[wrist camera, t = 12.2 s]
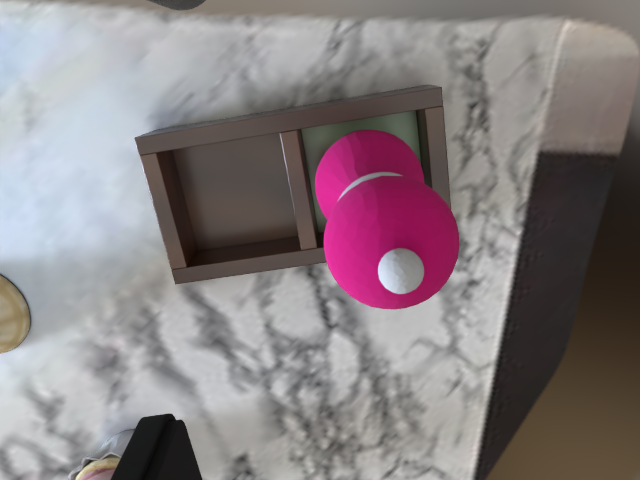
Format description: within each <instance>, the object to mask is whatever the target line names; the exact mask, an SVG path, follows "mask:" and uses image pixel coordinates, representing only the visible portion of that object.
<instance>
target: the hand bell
mask: <svg viewBox="0 0 640 480" xmlns="http://www.w3.org/2000/svg"><path fill="white" fill-rule="evenodd" d="M29 327H30V315H29V310H28V306H27V304H26V302H25V300H24V298H23V296H22V295H21V293H20V292H19V291H18V289H17V288H16V287H15V286H14V285H13V284H11V283H10V282H9V281H8V280H7V279H5V278H4V277H2V276H1V275H0V354H1V353H5V352H8V351H11V350H13V349H14V348H16V347H17V346H19V345H20V344H21V343H22V341H23V340H24V339H25V337H26V335H27V334H28V331H29Z"/></svg>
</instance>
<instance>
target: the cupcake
mask: <svg viewBox="0 0 640 480" xmlns="http://www.w3.org/2000/svg"><path fill="white" fill-rule="evenodd" d="M134 431H135V430H127V431H123V432H121V433H118V434H116V435H115V436H113V437H112V438H110V439H109V440H108V441H107V442H106V443H105V444H104V445H103V446H102V447H101V448H100V449H99V450H98V451H97V452H95V453H93V454H91V455H88V456H86V457H84V458H83V459H82V462H81V466H80V467H78V468H77V469H75V470H74V471H72V472H71V473H70V474H68V480H110V479H111V477H112V475H113V473H114V471H115V469H116V467H117V465H118V463H119V461H120V459H121V457H122V455H123V453H124V451H125V449H126V447H127V445H128V443H129V441H130V439H131V437H132V435H133V433H134Z"/></svg>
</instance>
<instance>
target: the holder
mask: <svg viewBox="0 0 640 480" xmlns="http://www.w3.org/2000/svg"><path fill="white" fill-rule="evenodd" d="M359 130H379V131H385V132H387V133H390V134H393V135H395V136H397V137H398V138H400V139H401V140H403V141H404V142H405V143H406V144H407V145H408V146H410V148H411V149H412V150H413V152H414V153H415V155H416V156H417V158H418V160H419V162H420V164H421V167H422V170H423V175H424V182H425V183H424V184H426V185H427V186H429V187H430V188H431V189H433V190H434V191H436V192H437V193H438V194H439V195H440V197H441V198H442V199H443V200H444V201H445V202H446V203H447V204H448V206H449V208H450V209H451V202H450V189H449V176H448V163H447V150H446V137H445V124H444V111H443V98H442V87H438V86H432V85H424V86H418V87H412V88H406V89H400V90H394V91H388V92H382V93H376V94H370V95H364V96H358V97H352V98H346V99H339V100H333V101H327V102H321V103H315V104H309V105H303V106H297V107H291V108H285V109H279V110H273V111H267V112H261V113H255V114H249V115H243V116H237V117H231V118H225V119H219V120H213V121H207V122H201V123H195V124H189V125H183V126H177V127H171V128H165V129H159V130H154V131H151V132H149V133H146V134H143V135H141V136H138V137H135V142H136V145H137V149H138V152H139V155H140V159H141V163H142V166H143V170H144V173H145V177H146V181H147V184H148V188H149V191H150V195H151V198H152V202H153V206H154V209H155V213H156V216H157V220H158V223H159V227H160V231H161V234H162V238H163V241H164V245H165V248H166V252H167V256H168V259H169V263H170V266H171V269H172V274H173V277H174V281H175V284H181V283H188V282H194V281H201V280H208V279H215V278H222V277H229V276H236V275H242V274H249V273H256V272H263V271H270V270H277V269H284V268H290V267H297V266H304V265H311V264H318V263H325V262H327V261H326V257H325V251H324V232H325V227H326V223H327V221H328V220H327V219H326V218H325V216H324V214H323V213H322V211H321V208H320V206H319V203H318V200H317V196H316V191H315V178H316V172H317V168H318V166H319V163H320V161H321V159H322V157H323V156H324V154H325V153H326V151H327V150H328V149H329V148H330V147H331V146H332V145H333V144H334V143H335V142H336V141H337V140H339V139H340V138H342V137H343V136H345V135H347V134H349V133H351V132H354V131H359Z"/></svg>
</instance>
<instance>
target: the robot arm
mask: <svg viewBox="0 0 640 480" xmlns="http://www.w3.org/2000/svg"><path fill="white" fill-rule="evenodd" d="M110 480H202V477H201V474H200V471H199V467H198V464H197V461H196V458H195V455H194V451H193V448H192V445H191V442H190V439H189V436H188V432H187V429H186V426H185V424H184V422H183V421H182V420H176V419H175V417H174V416H173V415H172V414H163V415H156V416H149V417H143V418H142V419H141V420H140V421H139V422H138V424H137V426H136V429H135V431H134V433H133V435H132V437H131V439H130V441H129V443H128V445H127V447H126V449H125V451H124V453H123V455H122V457H121V459H120V461H119V463H118V465H117V467H116V469H115V471H114V473H113V475H112V477H111V479H110Z"/></svg>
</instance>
